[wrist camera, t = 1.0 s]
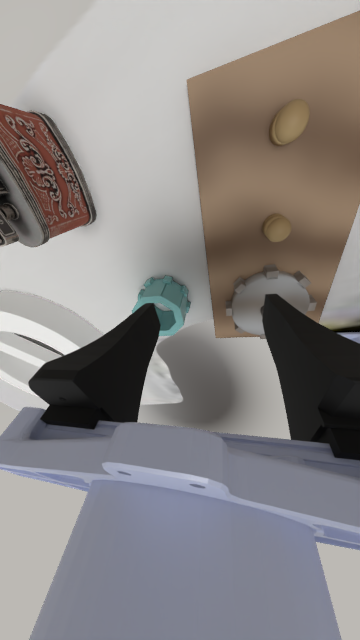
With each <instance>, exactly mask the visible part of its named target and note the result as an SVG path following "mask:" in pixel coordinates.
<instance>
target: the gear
mask: <svg viewBox="0 0 360 640" xmlns="http://www.w3.org/2000/svg"><path fill="white" fill-rule="evenodd" d="M172 279H173V277H170V276H166V275H165V277H164V279H156V280H154V279H153V277H152V278H150V279H148V280H147V281H146V283H145V284H144V286H145V287H146V289H145V290H141V291H140V293H139V294H138V302H137V303H136V305H135V307H134V308H133V310H132V313H134V312H135V311H136V310H137V309H138V308H140V307H141V306H142V305H144V304H145V303H161V304H163V305H164V306H166V307H168V308H169V309H171V310H172V311H162V310H160V309H159V308H157V307H155V309H156V312H157V315H158V318H159V321H160V324H161V327H160V332H159V336H170V335H174V334H175V333H176V332H177V331H178V330H179V329H180V328H181V327H182V326H183V325H184V321H185V316H186V313H188V311H189V308H190V303H191V302H188V301H187V294H188V290H187V288H186V287H185V285H184V286H180V285H179V284H177V283H176V282H174V281H173V280H172Z"/></svg>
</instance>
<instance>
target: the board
mask: <svg viewBox="0 0 360 640" xmlns="http://www.w3.org/2000/svg"><path fill="white" fill-rule="evenodd" d="M187 87H188V96H189V104H190V113H191V122H192V131H193V140H194V149H195V158H196V166H197V175H198V184H199V193H200V202H201V211H202V220H203V229H204V237H205V246H206V255H207V264H208V273H209V282H210V291H211V300H212V308H213V317H214V326H215V335H216V338H231V337H260V338H261V339H266V336H265V333H264V328H263V323H262V318H263V309H264V301H265V294H278V295H279V296H280V297H282V298H283V299H284V300H285V301H287V302H288V303H289V304H291V305H292V306H293V307H295V308H296V309H297V310H299V311H300V312H302V313H303V314H305V315H306V316H308V317H309V318H311V319H312V320H314V321H315V322H317V323H318V322H319V320H320V317H321V314H322V311H323V308H324V305H325V302H326V299H327V296H328V294H329V291H330V288H331V285H332V282H333V279H334V276H335V273H336V271H337V268H338V265H339V262H340V259H341V256H342V253H343V250H344V247H345V245H346V242H347V239H348V236H349V233H350V230H351V227H352V224H353V222H354V219H355V216H356V213H357V210H358V207H359V204H360V11H358V12H355V13H353V14H350V15H348V16H345V17H343V18H340V19H338V20H335V21H333V22H330V23H328V24H325V25H322V26H320V27H317V28H315V29H312V30H310V31H307V32H305V33H302V34H300V35H297V36H295V37H292V38H290V39H287V40H285V41H282V42H280V43H277V44H275V45H272V46H270V47H267V48H265V49H262V50H260V51H257V52H255V53H252V54H250V55H247V56H245V57H242V58H240V59H237V60H235V61H232V62H230V63H227V64H225V65H222V66H220V67H217V68H215V69H212V70H210V71H207V72H205V73H202V74H200V75H197V76H195V77H192V78H190V79H187Z"/></svg>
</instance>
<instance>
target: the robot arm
mask: <svg viewBox="0 0 360 640" xmlns="http://www.w3.org/2000/svg"><path fill="white" fill-rule="evenodd" d="M262 323H263V328H264V333H265V336H266V339H267V342H268V345H269V348H270V351H271V353H272V356H273V359H274V362H275V364H276V368H277V371H278V376H279V379H280V384H281V389H282V394H283V398H284V403H285V408H286V413H287V419H288V424H289V430H290V436H291V440H288V439H278V438H268V437H258V436H248V435H238V434H228V433H219V432H218V433H217V432H210V431H206V430H200V429H196V428H187V427H177V426H167V425H157V424H147V423H137V420H138V412H139V407H140V401H141V395H142V390H143V386H144V381H145V377H146V373H147V368H148V365H149V362H150V359H151V357H152V354H153V351H154V348H155V346H156V343H157V340H158V337H159V332H160V327H161V324H160V321H159V318H158V315H157V312H156V309H155V306H154V303H145V304H144V305H142V306H141V307H140V308H138V309H137V310H136V311H135V312H134V313H133V314H131V315H130V316H129V317H128V318H127V319H125V320H124V321H123V322H121V323H120V324H119V325H118V326H116V327H115V328H114V329H112V330H111V331H109V332H108V333H106V334H105V335H103V336H102V337H100V338H98V339H97V340H95V341H93V342H91V343H89V344H88V345H86V346H84V347H82V348H80V349H78V350H76V351H73V352H71V353H69V354H67V355H64V356H62V357H59V358H57V359H54V360H52V361H49V362H46V363H44V364H43V365H42V367H41V368H40V369H39V370H38V371H37V372H36V373H35V374H34V376H33V377H32V378H31V379H30V380H29V382H28V384H29V388H30V389H31V390H32V391H33V392H34V393H35V394H36V395H38V396H39V397H40V398H42V399H43V400H44V401H45V402H47V403H48V404H49V407H48V408H47V410H44V409H41V408H33V407H24V408H23V409H22V410H21V411H20V413H19V414H18V415H17V416H16V418H15V419H14V420H13V421H12V423H11V424H10V425H9V426H8V428H7V429H6V430H5V431H4V432H3V434H2V435H1V436H0V469H2V470H4V471H7V472H11V473H13V474H16V475H19V476H23V477H28V478H32V479H37V480H41V481H45V482H50V483H54V484H58V485H62V486H66V487H71V488H74V489H79V490H82V491H87V492H88V494H87V496H86V499H85V501H84V504H83V506H82V509H81V511H80V514H79V516H78V519H77V521H76V524H75V526H74V529H73V531H72V534H71V536H70V539H69V541H68V544H67V546H66V549H65V551H64V554H63V556H62V559H61V561H60V564H59V566H58V569H57V571H56V574H55V576H54V579H53V582H52V584H51V586H50V589H49V591H48V594H47V596H46V599H45V601H44V604H43V606H42V609H41V611H40V614H39V616H38V619H37V621H36V624H35V626H34V629H33V631H32V634H31V636H30V639H29V640H341V636H340V632H339V628H338V625H337V621H336V617H335V613H334V610H333V606H332V602H331V599H330V594H329V591H328V587H327V583H326V580H325V576H324V572H323V568H322V564H321V561H320V557H319V553H318V549H317V545H316V542H320V543H325V544H330V545H335V546H340V547H346V548H351V549H356V550H360V332H346V333H335V332H333V331H332V330H330V329H328V328H326V327H324V326H322V325H320V324H319V323H317V322H315V321H314V320H312V319H311V318H309V317H308V316H306V315H305V314H303V313H302V312H300V311H299V310H297V309H296V308H295V307H293V306H292V305H291V304H289V303H288V302H287V301H285V300H284V299H283V298H282V297H280V296H279V295H278V294H265V301H264V309H263V318H262Z"/></svg>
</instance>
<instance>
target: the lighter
mask: <svg viewBox="0 0 360 640" xmlns="http://www.w3.org/2000/svg"><path fill="white" fill-rule="evenodd" d="M95 219H96V210H95V207H94V204H93V200H92V197H91V194H90V191H89V189H88V186H87V184H86V181H85V179H84V176H83V174H82V171H81V169H80V167H79V165H78V163H77V162H76V160H75V158H74V156H73V154H72V152H71V150H70V148H69V146H68V144H67V143H66V141H65V140H64V138H63V136H62V135H61V133H60V131H59V130H58V128H57V126H56V125H55V123H54V122H53V121H52V119H51V118H49V117H48V116H47V115H45V114H42V113H39V112H35V111H32V110H31V111H27V112H25V111H21V110H18V109H15V108H12V107H8V106H5V105H2V104H0V247H3V246H6V245H8V244H11V243H14V242H17V241H19V242H20V243H22V244H24V245H25V246H29V247H38V246H40V245H42V244H44V243H46V242H48V240H49V239H50V238H52V237H55V236H57V235H60V234H62V233H64V232H67V231H69V230H72V229H74V228H77V227H79V226H87V225H89V224H91V223H93V222H94V221H95Z"/></svg>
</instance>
